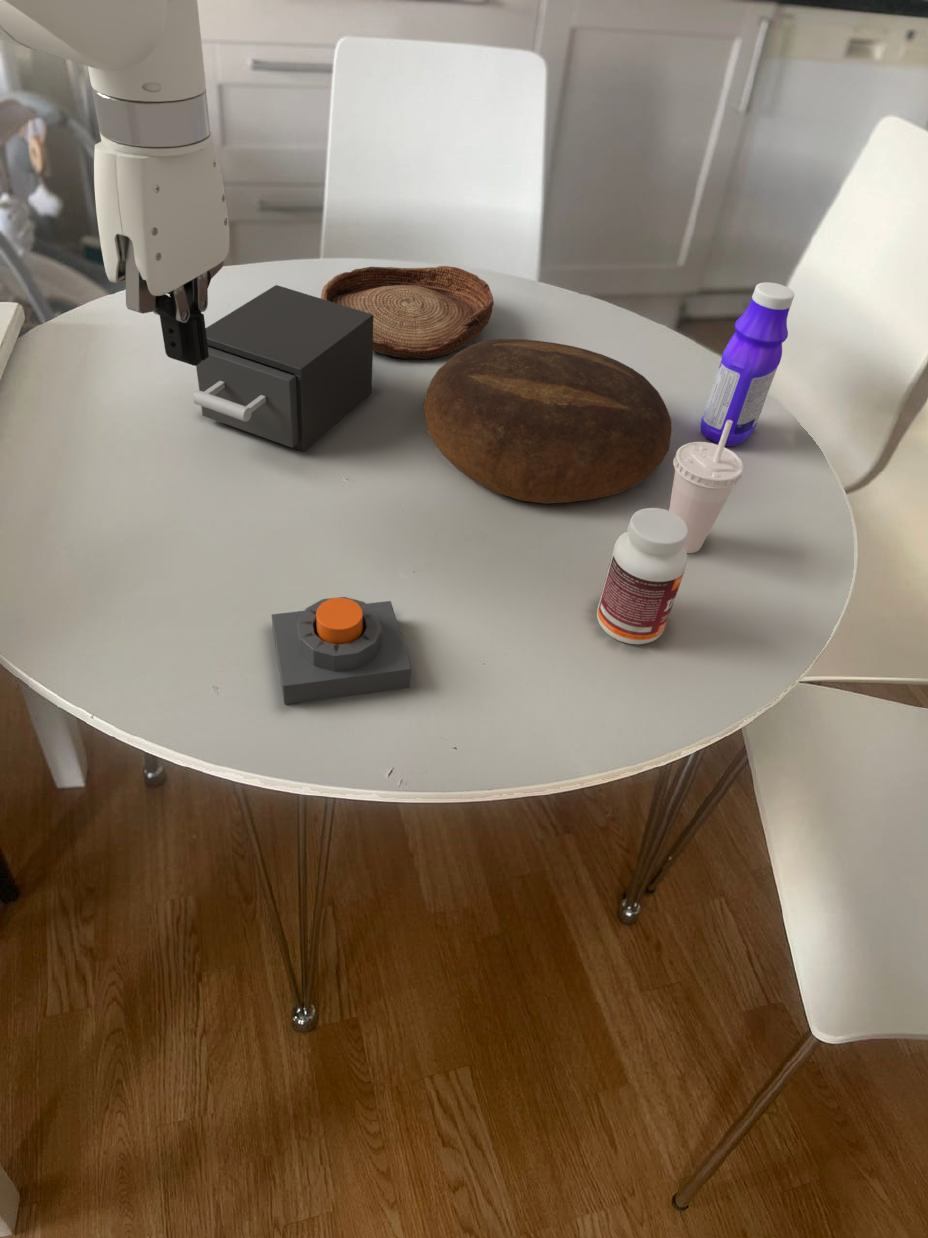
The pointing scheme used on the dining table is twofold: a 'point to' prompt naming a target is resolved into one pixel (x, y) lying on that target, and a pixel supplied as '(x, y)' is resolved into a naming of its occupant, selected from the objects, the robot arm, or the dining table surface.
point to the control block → (339, 655)
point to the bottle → (748, 365)
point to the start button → (339, 621)
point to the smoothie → (703, 485)
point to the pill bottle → (643, 577)
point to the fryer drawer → (248, 396)
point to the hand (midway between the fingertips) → (187, 357)
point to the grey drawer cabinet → (305, 352)
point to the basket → (416, 307)
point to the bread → (546, 420)
